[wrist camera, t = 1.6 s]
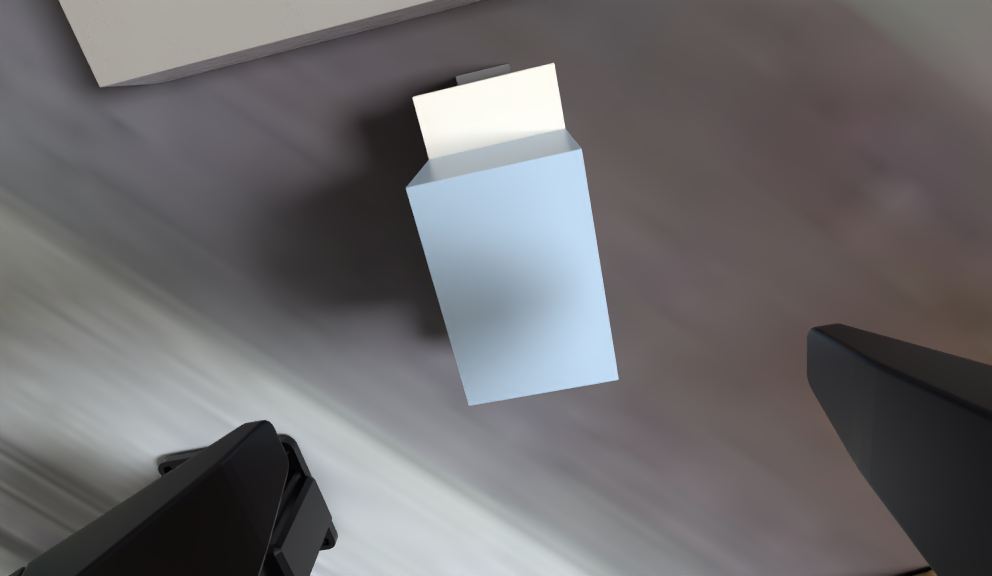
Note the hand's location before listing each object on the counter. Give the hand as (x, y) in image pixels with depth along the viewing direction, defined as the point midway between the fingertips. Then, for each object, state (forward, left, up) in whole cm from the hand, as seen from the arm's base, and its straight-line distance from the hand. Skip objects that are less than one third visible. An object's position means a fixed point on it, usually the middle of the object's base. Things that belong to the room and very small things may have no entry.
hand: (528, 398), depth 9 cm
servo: (0, 0, -12) cm, 12 cm away
